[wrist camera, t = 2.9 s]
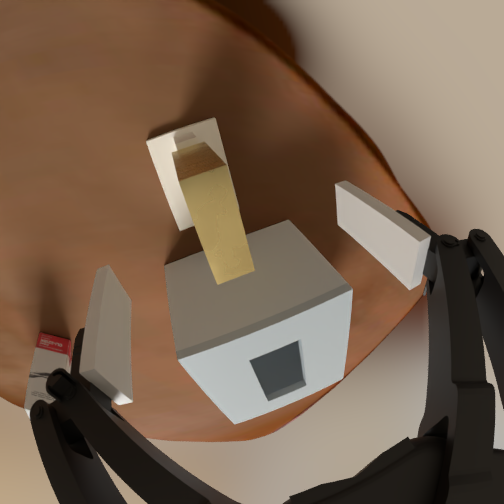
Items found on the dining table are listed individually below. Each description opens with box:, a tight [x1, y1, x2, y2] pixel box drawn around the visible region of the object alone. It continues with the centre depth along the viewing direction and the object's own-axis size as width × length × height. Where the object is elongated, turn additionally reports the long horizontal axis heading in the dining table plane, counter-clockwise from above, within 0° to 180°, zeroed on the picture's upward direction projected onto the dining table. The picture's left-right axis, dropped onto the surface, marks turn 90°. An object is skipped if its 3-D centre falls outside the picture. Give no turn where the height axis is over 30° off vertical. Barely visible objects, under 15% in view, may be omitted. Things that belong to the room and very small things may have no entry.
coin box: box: [164, 220, 353, 424], centre depth 29 cm, size 16×14×12 cm
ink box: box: [24, 332, 72, 418], centre depth 25 cm, size 8×5×12 cm, turn 153°
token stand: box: [146, 117, 239, 231], centre depth 22 cm, size 9×6×4 cm, turn 12°
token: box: [172, 141, 255, 285], centre depth 18 cm, size 7×2×7 cm, turn 12°
